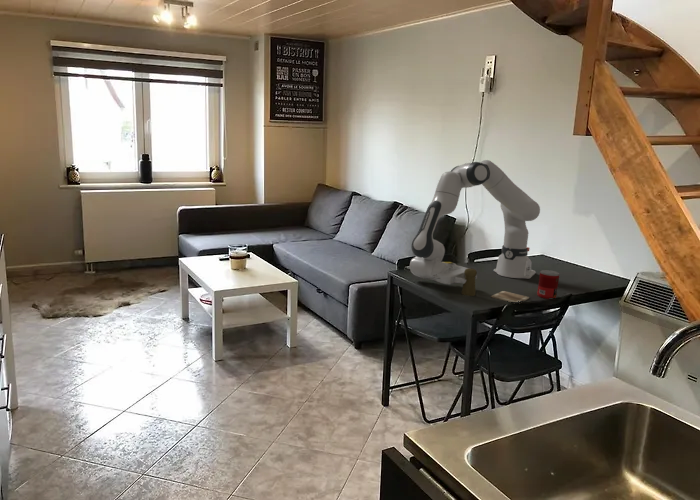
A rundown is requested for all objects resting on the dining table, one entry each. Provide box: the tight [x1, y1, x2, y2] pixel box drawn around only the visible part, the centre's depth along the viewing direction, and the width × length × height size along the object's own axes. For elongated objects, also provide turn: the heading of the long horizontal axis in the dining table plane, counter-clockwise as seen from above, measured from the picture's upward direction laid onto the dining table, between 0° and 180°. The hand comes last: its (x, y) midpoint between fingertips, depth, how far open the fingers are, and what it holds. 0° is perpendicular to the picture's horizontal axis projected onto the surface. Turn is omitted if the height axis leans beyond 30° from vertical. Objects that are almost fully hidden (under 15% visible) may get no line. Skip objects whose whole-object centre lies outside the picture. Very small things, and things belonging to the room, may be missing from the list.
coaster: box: [490, 290, 530, 303], centre depth 245 cm, size 12×12×1 cm
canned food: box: [536, 269, 560, 300], centre depth 249 cm, size 8×8×11 cm
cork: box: [461, 267, 478, 297], centre depth 246 cm, size 6×6×11 cm
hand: (471, 279), depth 246 cm, fingers open, 8 cm apart
